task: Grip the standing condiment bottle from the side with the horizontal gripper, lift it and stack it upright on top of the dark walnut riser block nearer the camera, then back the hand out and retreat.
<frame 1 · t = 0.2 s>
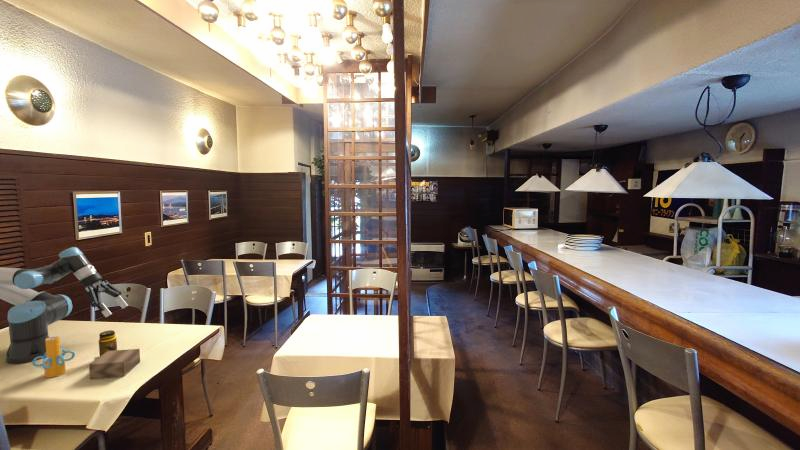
hand: (117, 311, 173), 14 cm above the table, tool tilted 35°, fingers open, 13 cm apart
cylinder: (55, 374, 142), on the table
condiment: (106, 359, 155), on the table
riser: (116, 370, 145), on the table
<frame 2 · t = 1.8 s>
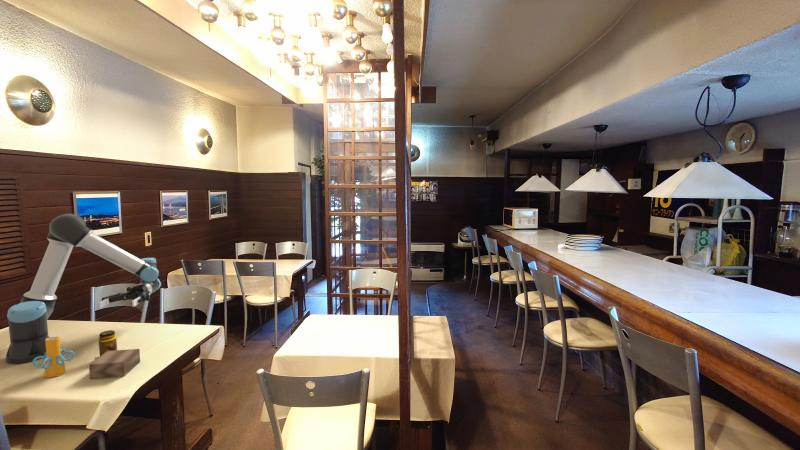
hand: (116, 304, 162), 21 cm above the table, tool horizontal, fingers open, 13 cm apart
nothing on the table moved.
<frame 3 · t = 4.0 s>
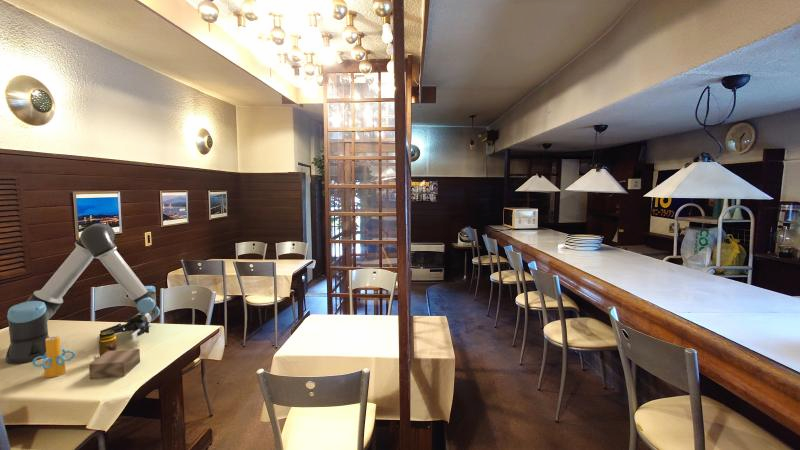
hand: (115, 338, 161), 6 cm above the table, tool horizontal, fingers open, 13 cm apart
nothing on the table moved.
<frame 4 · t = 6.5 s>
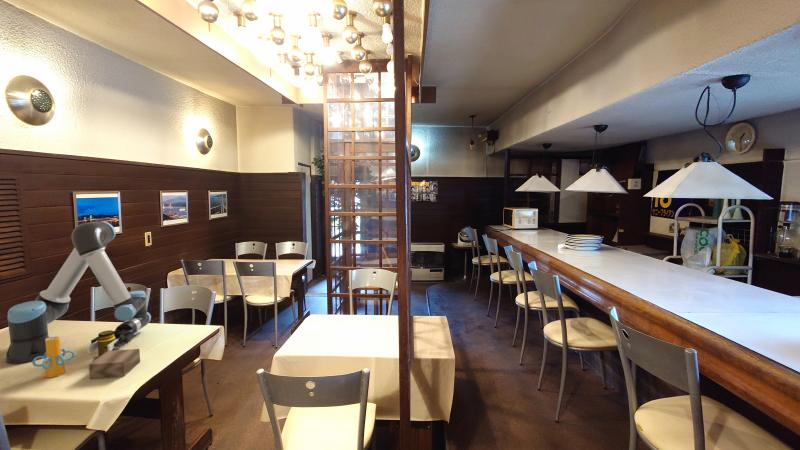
hand: (98, 349, 149), 7 cm above the table, tool horizontal, fingers open, 7 cm apart
condiment: (105, 359, 155), on the table, touching gripper
everything else where it was.
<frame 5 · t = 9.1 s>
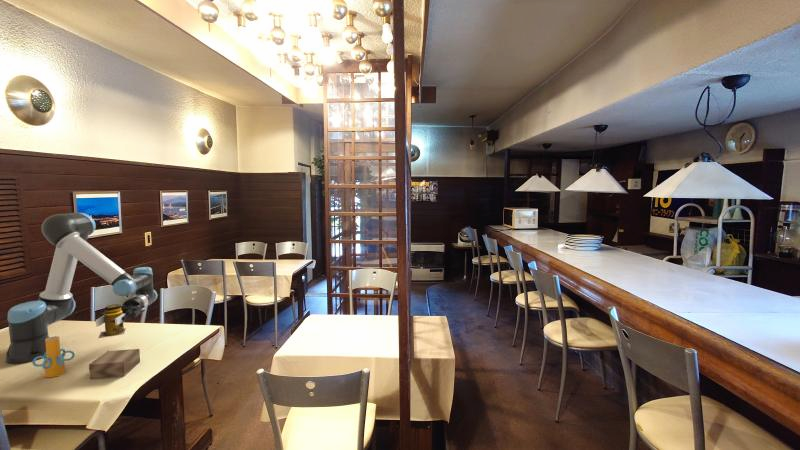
hand: (106, 322, 143), 20 cm above the table, tool horizontal, fingers closed on condiment, 6 cm apart
condiment: (112, 334, 149), point 13 cm above the table, touching gripper
everything else where it was.
when the fingers open (14 cm above the table, at t = 11.5 s): condiment drops 2 cm, resting on riser.
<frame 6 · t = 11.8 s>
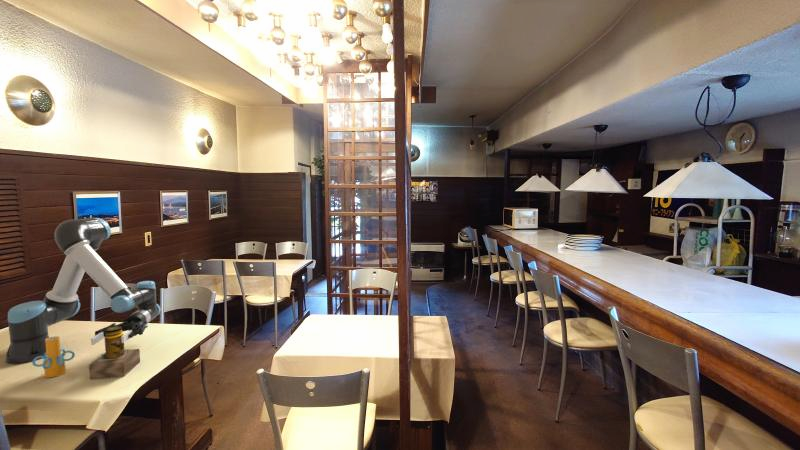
hand: (107, 340, 140), 14 cm above the table, tool horizontal, fingers open, 10 cm apart
condiment: (112, 357, 144), point 6 cm above the table, touching riser
everything else where it was.
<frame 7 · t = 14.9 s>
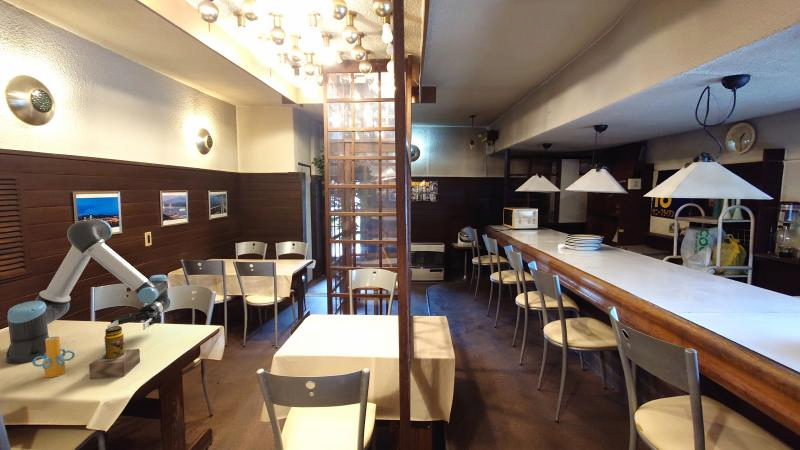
hand: (126, 327, 153), 15 cm above the table, tool horizontal, fingers open, 13 cm apart
nothing on the table moved.
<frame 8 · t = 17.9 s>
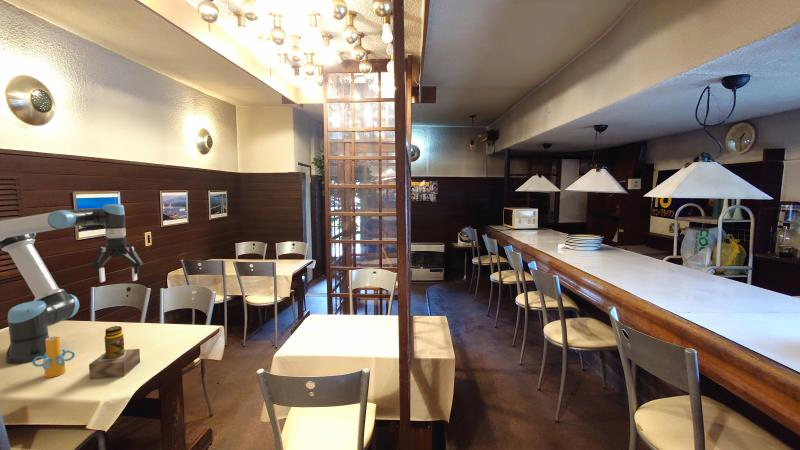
hand: (118, 281, 168), 31 cm above the table, tool pointing down, fingers open, 13 cm apart
nothing on the table moved.
at the end: condiment inside the target area on the riser (0.9 cm from its centre), point 5.8 cm above the riser's base; condiment tilted 0°; the gripper is holding nothing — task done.
